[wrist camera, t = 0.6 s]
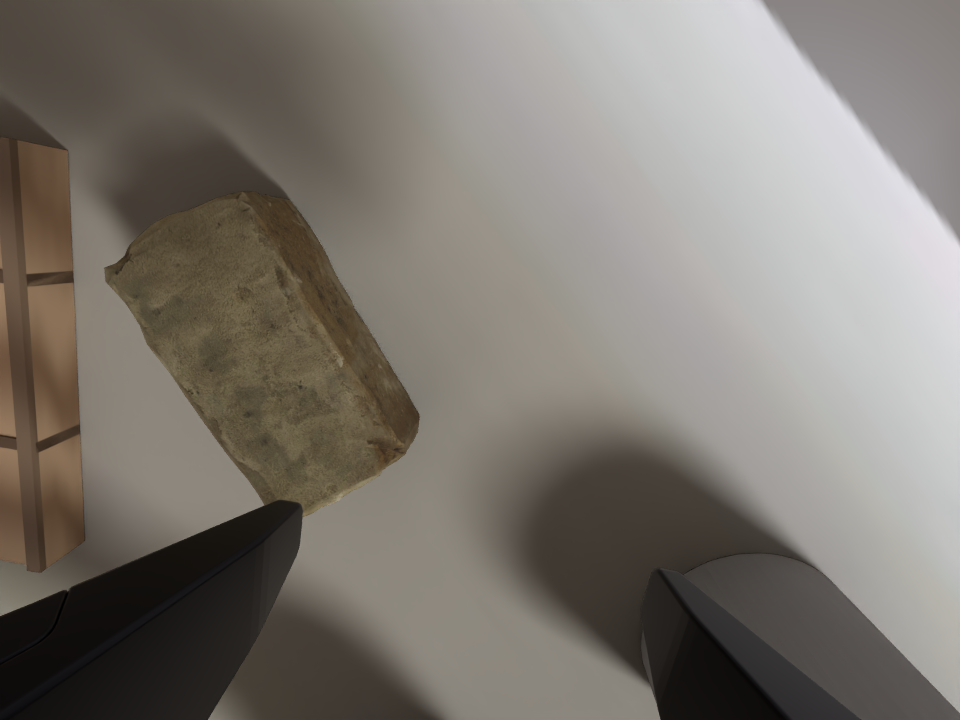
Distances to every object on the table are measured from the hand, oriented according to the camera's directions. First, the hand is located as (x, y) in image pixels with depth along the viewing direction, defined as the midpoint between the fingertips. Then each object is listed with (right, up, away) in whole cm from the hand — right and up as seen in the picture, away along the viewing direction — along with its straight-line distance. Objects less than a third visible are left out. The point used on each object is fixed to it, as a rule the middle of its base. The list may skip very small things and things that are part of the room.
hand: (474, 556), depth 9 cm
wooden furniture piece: (-20, +4, +12) cm, 24 cm away
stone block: (-7, +5, +12) cm, 15 cm away
